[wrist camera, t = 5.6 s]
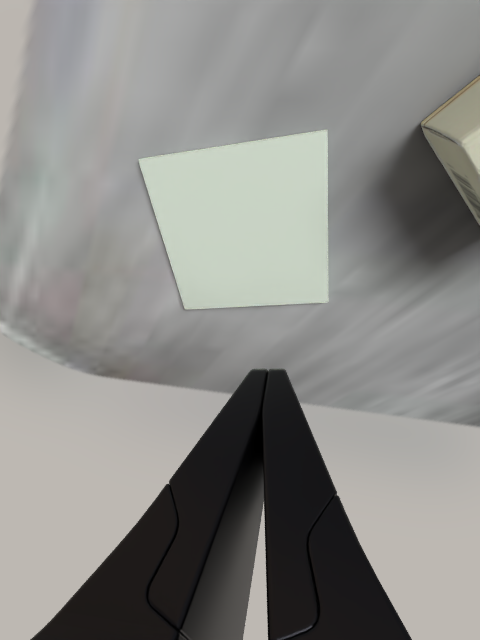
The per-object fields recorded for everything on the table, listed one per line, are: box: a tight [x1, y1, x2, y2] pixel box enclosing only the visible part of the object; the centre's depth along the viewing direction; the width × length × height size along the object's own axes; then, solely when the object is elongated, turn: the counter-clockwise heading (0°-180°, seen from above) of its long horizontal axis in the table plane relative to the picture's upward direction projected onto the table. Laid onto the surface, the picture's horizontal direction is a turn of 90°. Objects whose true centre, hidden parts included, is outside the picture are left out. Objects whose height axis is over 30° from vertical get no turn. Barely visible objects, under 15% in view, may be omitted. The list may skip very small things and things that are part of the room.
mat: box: [138, 130, 328, 310], centre depth 16 cm, size 8×8×1 cm
